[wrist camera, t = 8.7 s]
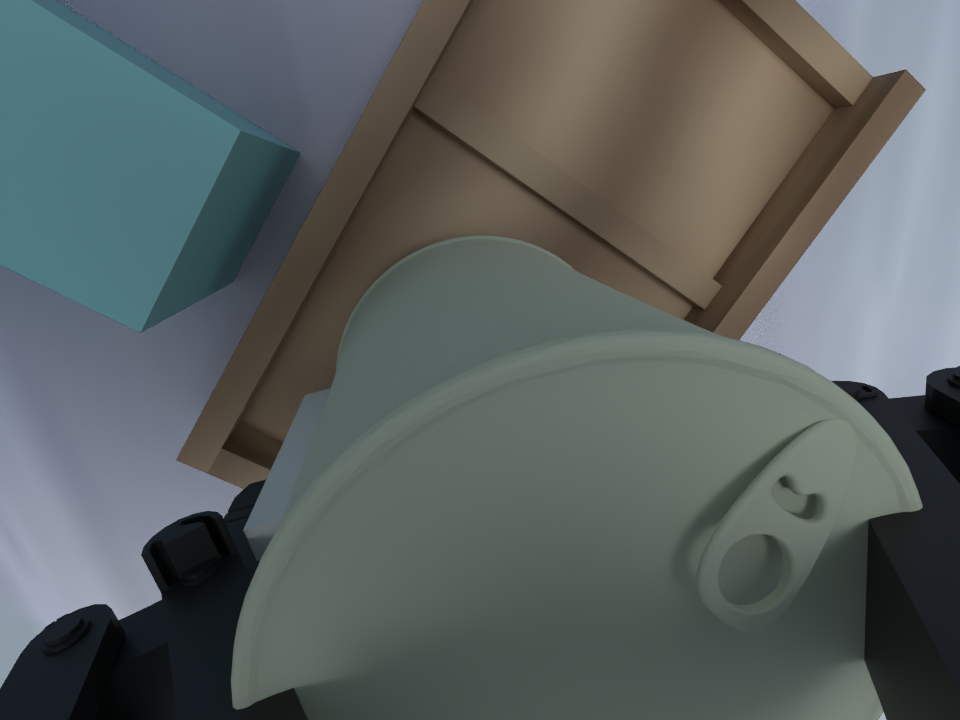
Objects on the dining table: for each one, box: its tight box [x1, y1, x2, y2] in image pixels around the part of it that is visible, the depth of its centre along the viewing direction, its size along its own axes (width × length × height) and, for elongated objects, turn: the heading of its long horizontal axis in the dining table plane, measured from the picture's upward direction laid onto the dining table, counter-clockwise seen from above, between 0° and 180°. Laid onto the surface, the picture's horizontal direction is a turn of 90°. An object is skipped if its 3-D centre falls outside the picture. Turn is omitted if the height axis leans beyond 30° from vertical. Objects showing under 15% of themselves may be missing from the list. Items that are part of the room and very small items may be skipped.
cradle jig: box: [176, 0, 926, 489], centre depth 18 cm, size 14×22×3 cm, turn 148°
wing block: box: [0, 0, 300, 333], centre depth 13 cm, size 10×5×7 cm, turn 58°
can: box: [231, 235, 923, 720], centre depth 12 cm, size 9×9×12 cm
